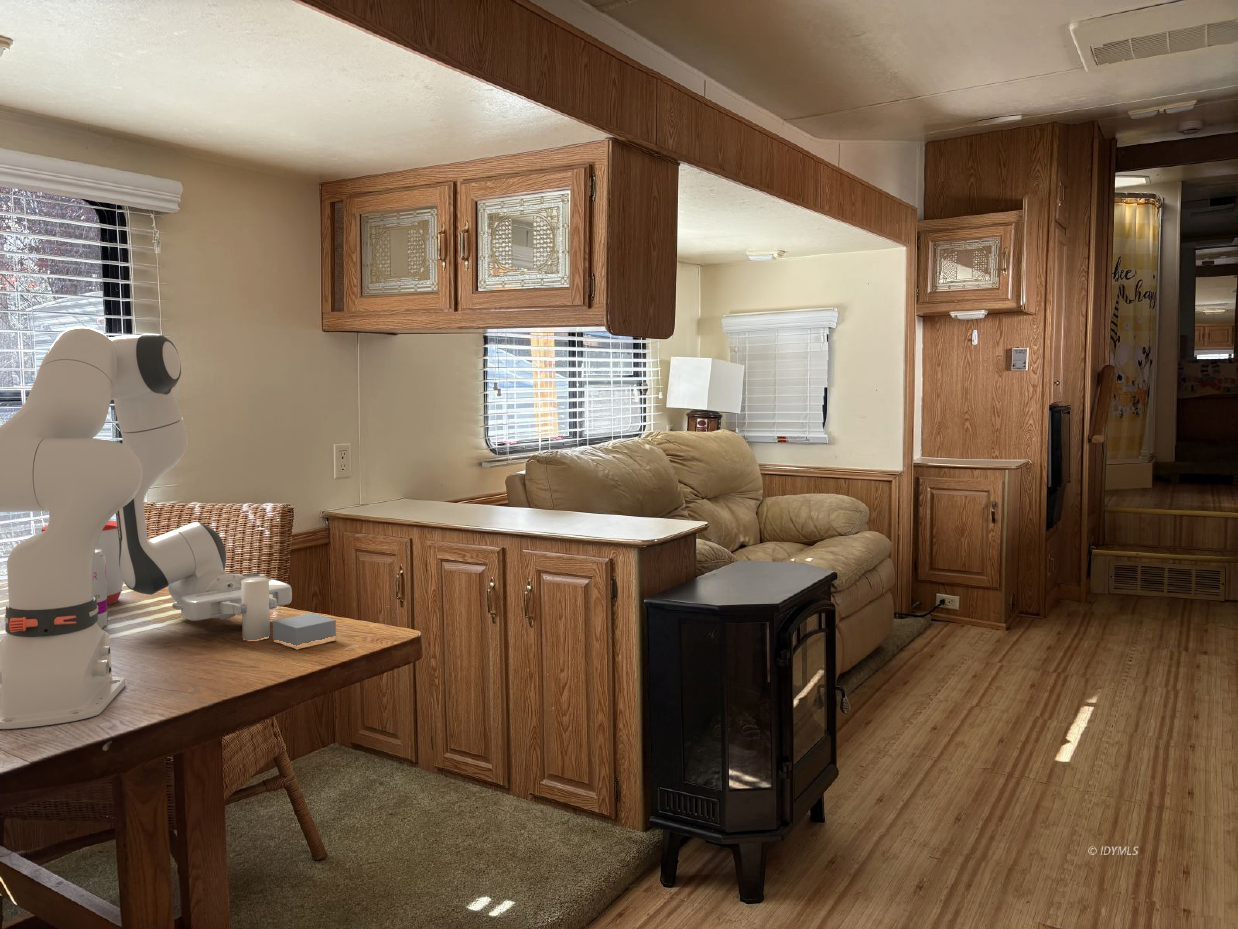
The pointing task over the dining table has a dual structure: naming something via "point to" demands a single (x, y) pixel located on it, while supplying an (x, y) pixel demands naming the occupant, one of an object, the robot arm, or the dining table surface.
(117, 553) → the citrus juicer
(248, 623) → the white pillar candle
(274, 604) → the robot arm
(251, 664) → the dining table surface
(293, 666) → the dining table surface
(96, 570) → the supplement can
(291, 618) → the plinth
